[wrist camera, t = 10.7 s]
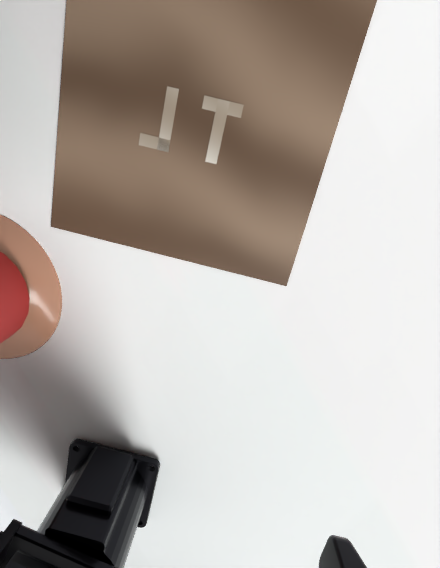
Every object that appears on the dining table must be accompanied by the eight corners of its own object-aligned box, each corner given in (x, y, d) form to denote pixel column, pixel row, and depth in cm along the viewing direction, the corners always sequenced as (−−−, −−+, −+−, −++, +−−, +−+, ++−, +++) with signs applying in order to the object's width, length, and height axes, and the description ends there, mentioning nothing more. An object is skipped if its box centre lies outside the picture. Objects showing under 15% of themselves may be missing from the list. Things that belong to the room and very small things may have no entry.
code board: (285, 282, 20) (286, 286, 20) (56, 224, 21) (50, 226, 20) (374, 0, 16) (378, -6, 15) (78, -71, 16) (71, -80, 15)
